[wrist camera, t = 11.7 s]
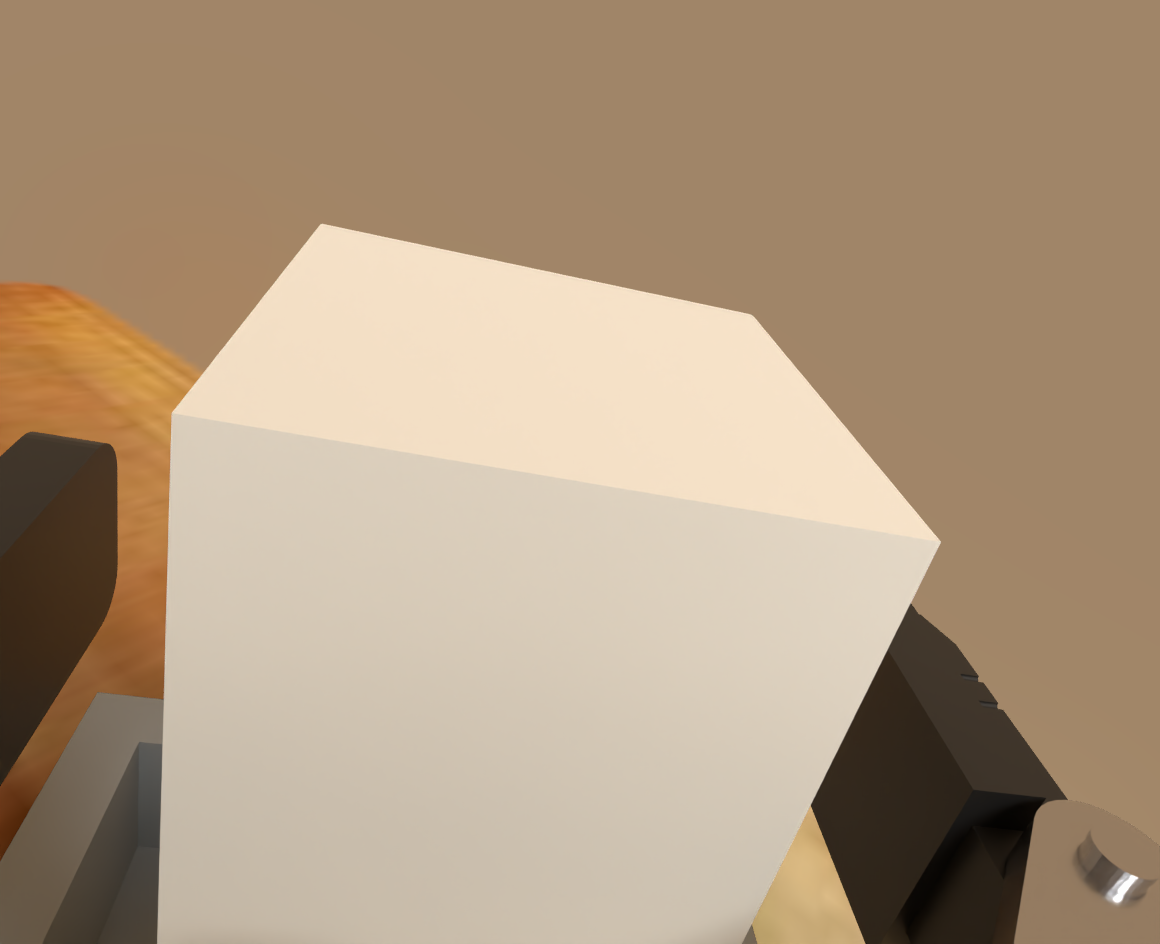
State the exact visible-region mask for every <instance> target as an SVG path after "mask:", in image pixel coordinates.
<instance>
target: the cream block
mask: <svg viewBox="0 0 1160 944" xmlns="http://www.w3.org/2000/svg"><path fill="white" fill-rule="evenodd" d="M940 543H941V542H940V540H939V539H938V538H937V537H936V536H935V534H934V533H933V532H932V531H931V530H930V528H929V527H928V526H927V525H926V524H925V522H924V521H923V520H922V519H921V518H920V516H919V515H918V514H917V513H916V512H915V510H914V509H913V508H912V507H911V506H910V505H909V503H908V502H907V501H906V500H905V499H904V497H903V496H902V495H901V494H900V492H899V491H898V490H897V489H896V487H895V486H894V485H893V484H892V483H891V481H890V480H889V479H888V478H887V477H886V475H885V474H884V473H883V472H882V471H881V469H880V468H879V467H878V466H877V465H876V463H875V462H874V461H873V460H872V459H871V458H870V456H869V455H868V454H867V453H866V451H865V450H864V449H863V448H862V447H861V445H860V444H859V443H858V442H857V441H856V439H855V438H854V437H853V436H852V435H851V433H850V432H849V431H848V430H847V428H846V427H845V426H844V425H843V424H842V423H841V421H840V420H839V419H838V418H837V416H836V415H835V414H834V413H833V412H832V410H831V409H830V408H829V407H828V406H827V404H826V403H825V402H824V401H823V400H822V398H821V397H820V396H819V395H818V394H817V392H816V391H815V390H814V389H813V388H812V386H811V385H810V384H809V383H808V382H807V380H806V379H805V378H804V377H803V376H802V374H801V373H800V372H799V371H798V370H797V368H796V367H795V366H794V365H793V363H792V362H791V361H790V360H789V359H788V357H787V356H786V355H785V354H784V353H783V351H782V350H781V349H780V348H779V347H778V345H777V344H776V343H775V342H774V341H773V340H772V338H771V337H770V336H769V335H768V333H767V332H766V331H765V330H764V329H763V327H762V326H761V325H760V324H759V323H758V321H757V320H756V319H755V318H754V317H753V315H750V314H746V313H741V312H736V311H732V310H727V309H722V308H717V307H713V306H708V305H703V304H698V303H694V302H689V301H684V300H680V299H675V298H670V297H666V296H661V295H656V294H651V293H647V292H642V291H637V290H632V289H628V288H623V287H618V286H614V285H609V284H604V283H599V282H595V281H590V280H585V279H580V278H576V277H570V276H565V275H561V274H557V273H552V272H547V271H542V270H538V269H533V268H528V267H523V266H519V265H514V264H509V263H505V262H500V261H495V260H490V259H485V258H481V257H476V256H471V255H467V254H462V253H457V252H453V251H448V250H443V249H438V248H434V247H429V246H423V245H420V244H415V243H410V242H405V241H401V240H396V239H391V238H386V237H382V236H376V235H372V234H368V233H362V232H358V231H353V230H349V229H344V228H339V227H334V226H329V225H325V224H321V225H320V226H319V227H318V229H317V230H316V231H315V232H314V233H313V235H312V236H311V237H310V238H309V240H308V241H307V242H306V244H305V245H304V246H303V247H302V249H301V250H300V251H299V253H298V254H297V255H296V256H295V257H294V259H293V260H292V261H291V263H290V264H289V265H288V266H287V268H286V269H285V270H284V272H283V273H282V274H281V275H280V277H279V278H278V279H277V280H276V282H275V283H274V284H273V285H272V287H271V288H270V289H269V291H268V292H267V293H266V294H265V296H264V297H263V298H262V299H261V301H260V302H259V303H258V304H257V306H256V307H255V308H254V310H253V311H252V312H251V314H250V315H249V316H248V317H247V318H246V320H245V321H244V322H243V323H242V325H241V326H240V327H239V329H238V330H237V331H236V332H235V334H234V335H233V336H232V337H231V339H230V340H229V341H228V342H227V344H226V345H225V346H224V348H223V349H222V350H221V351H220V353H219V354H218V355H217V356H216V358H215V359H214V360H213V362H212V363H211V364H210V365H209V367H208V368H207V369H206V370H205V372H204V373H203V374H202V375H201V377H200V378H199V379H198V381H197V382H196V383H195V384H194V386H193V387H192V388H191V389H190V391H189V392H188V393H187V394H186V396H185V397H184V398H183V400H182V401H181V402H180V403H179V405H178V406H177V407H176V408H175V410H174V411H173V412H172V423H171V459H170V495H169V531H168V567H167V604H166V640H165V676H164V712H163V748H162V784H161V821H160V857H159V893H158V929H157V944H742V943H743V941H744V939H745V937H746V935H747V933H748V931H749V929H750V926H751V924H752V922H753V920H754V918H755V916H756V914H757V912H758V910H759V908H760V906H761V904H762V902H763V900H764V898H765V896H766V894H767V892H768V890H769V888H770V886H771V884H772V882H773V880H774V878H775V876H776V874H777V872H778V870H779V868H780V866H781V864H782V862H783V860H784V858H785V856H786V854H787V852H788V850H789V848H790V846H791V844H792V842H793V840H794V838H795V836H796V834H797V832H798V830H799V828H800V825H801V823H802V821H803V819H804V817H805V815H806V813H807V811H808V809H809V807H810V805H811V803H812V801H813V799H814V797H815V795H816V793H817V791H818V789H819V787H820V785H821V783H822V781H823V779H824V777H825V775H826V773H827V771H828V769H829V767H830V765H831V763H832V761H833V759H834V757H835V755H836V753H837V751H838V749H839V747H840V745H841V743H842V741H843V739H844V737H845V735H846V733H847V731H848V729H849V727H850V724H851V722H852V720H853V718H854V716H855V714H856V712H857V710H858V708H859V706H860V704H861V702H862V700H863V698H864V696H865V694H866V692H867V690H868V688H869V686H870V684H871V682H872V680H873V678H874V676H875V674H876V672H877V670H878V668H879V666H880V664H881V662H882V660H883V658H884V656H885V654H886V652H887V650H888V648H889V646H890V644H891V642H892V640H893V638H894V636H895V634H896V632H897V630H898V628H899V626H900V623H901V621H902V619H903V617H904V615H905V613H906V611H907V609H908V607H909V605H910V603H911V601H912V599H913V597H914V595H915V593H916V591H917V589H918V587H919V585H920V583H921V581H922V579H923V577H924V575H925V573H926V571H927V568H928V567H929V565H930V563H931V561H932V559H933V557H934V555H935V553H936V551H937V549H938V547H939V545H940Z"/></svg>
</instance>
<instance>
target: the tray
mask: <svg viewBox="0 0 1160 944" xmlns="http://www.w3.org/2000/svg"><path fill="white" fill-rule="evenodd" d="M163 712H164V699H155V698H146V697H137V696H128V695H118V694H109V693H100V692H97V694H96V696H95V698H94V699H93V701H92V703H91V704H90V706H89V708H88V710H87V711H86V713H85V715H84V717H83V718H82V720H81V722H80V724H79V725H78V727H77V729H76V731H75V732H74V734H73V736H72V738H71V739H70V741H69V743H68V744H67V746H66V748H65V750H64V751H63V753H62V755H61V757H60V758H59V760H58V762H57V764H56V765H55V767H54V769H53V771H52V772H51V774H50V776H49V778H48V779H47V781H46V783H45V784H44V786H43V788H42V790H41V791H40V793H39V795H38V797H37V798H36V800H35V802H34V804H33V805H32V807H31V809H30V811H29V812H28V814H27V816H26V818H25V819H24V821H23V823H22V824H21V826H20V828H19V830H18V831H17V833H16V835H15V837H14V838H13V840H12V842H11V844H10V845H9V847H8V849H7V851H6V852H5V854H4V856H3V857H2V859H1V861H0V944H157V929H158V893H159V857H160V821H161V784H162V748H163ZM742 944H757V941H756V938H755V934H754V931H753V927H752V924H751V926H750V929H749V931H748V933H747V935H746V937H745V939H744V941H743V943H742Z"/></svg>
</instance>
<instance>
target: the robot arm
mask: <svg viewBox="0 0 1160 944" xmlns="http://www.w3.org/2000/svg"><path fill="white" fill-rule="evenodd" d="M117 565H118V552H117V459H116V454H115V451H114V449H113V447H112V446H111V445H110V444H107V443H101V442H95V441H88V440H82V439H76V438H69V437H63V436H57V435H51V434H44V433H38V432H29V433H26V434H25V435H24V436H22V437H21V438H20V439H19V440H18V441H17V442H16V443H15V444H13V445H12V446H11V447H10V448H9V449H8V450H7V451H6V452H5V453H4V454H3V455H1V456H0V786H1V784H2V782H3V781H4V779H5V778H6V776H7V774H8V773H9V771H10V770H11V768H12V766H13V765H14V763H15V762H16V760H17V759H18V757H19V755H20V754H21V752H22V751H23V749H24V747H25V746H26V744H27V743H28V741H29V740H30V738H31V736H32V735H33V733H34V732H35V730H36V728H37V727H38V725H39V724H40V722H41V721H42V719H43V717H44V716H45V714H46V713H47V711H48V709H49V708H50V706H51V705H52V703H53V701H54V700H55V698H56V697H57V695H58V694H59V692H60V690H61V689H62V687H63V686H64V684H65V682H66V681H67V679H68V678H69V676H70V675H71V673H72V671H73V670H74V668H75V667H76V665H77V663H78V662H79V660H80V659H81V657H82V656H83V654H84V652H85V651H86V649H87V648H88V646H89V644H90V643H91V641H92V640H93V638H94V636H95V635H96V633H97V632H98V630H99V629H100V627H101V625H102V623H103V622H104V619H105V617H106V615H107V613H108V610H109V607H110V604H111V601H112V597H113V594H114V589H115V584H116V578H117ZM997 704H998V702H997V701H996V700H995V698H994V697H993V695H992V694H991V693H990V691H989V690H988V688H987V687H986V686H985V684H984V683H981V682H978V675H977V673H976V672H975V671H974V669H973V668H972V666H971V665H970V664H969V662H968V661H967V659H966V658H965V657H964V655H963V654H962V652H961V651H960V650H959V648H958V647H957V646H956V644H955V643H953V642H952V641H951V640H950V639H949V638H948V637H946V636H945V635H944V634H943V633H942V632H940V631H939V630H938V629H937V628H936V627H934V626H933V625H932V624H931V623H929V622H928V621H927V620H926V619H925V618H924V617H923V616H921V615H919V614H918V613H917V611H916V610H915V608H914V607H913V606H912V604H911V603H910V605H909V607H908V609H907V611H906V613H905V615H904V617H903V619H902V621H901V623H900V626H899V628H898V630H897V632H896V634H895V636H894V638H893V640H892V642H891V644H890V646H889V648H888V650H887V652H886V654H885V656H884V658H883V660H882V662H881V664H880V666H879V668H878V670H877V672H876V674H875V676H874V678H873V680H872V682H871V684H870V686H869V688H868V690H867V692H866V694H865V696H864V698H863V700H862V702H861V704H860V706H859V708H858V710H857V712H856V714H855V716H854V718H853V720H852V722H851V724H850V727H849V729H848V731H847V733H846V735H845V737H844V739H843V741H842V743H841V745H840V747H839V749H838V751H837V753H836V755H835V757H834V759H833V761H832V763H831V765H830V767H829V769H828V771H827V773H826V775H825V777H824V779H823V781H822V783H821V785H820V787H819V789H818V791H817V793H816V795H815V797H814V799H813V801H812V803H811V807H812V810H813V812H814V815H815V817H816V820H817V822H818V825H819V827H820V830H821V832H822V835H823V837H824V840H825V843H826V845H827V848H828V850H829V853H830V855H831V858H832V860H833V863H834V865H835V868H836V870H837V873H838V875H839V878H840V880H841V883H842V885H843V888H844V890H845V893H846V896H847V898H848V901H849V903H850V906H851V908H852V911H853V913H854V916H855V918H856V921H857V923H858V926H859V928H860V931H861V933H862V936H863V938H864V941H865V943H866V944H1160V846H1159V845H1158V844H1157V843H1155V842H1154V841H1153V840H1152V839H1150V838H1149V837H1148V836H1147V835H1145V834H1144V833H1143V832H1141V831H1140V830H1138V829H1137V828H1135V827H1134V826H1132V825H1131V824H1129V823H1128V822H1126V821H1124V820H1122V819H1121V818H1119V817H1117V816H1115V815H1113V814H1111V813H1109V812H1107V811H1105V810H1102V809H1100V808H1097V807H1095V806H1092V805H1089V804H1085V803H1082V802H1078V801H1071V800H1068V799H1067V798H1066V797H1065V795H1064V794H1063V792H1062V791H1061V790H1060V788H1059V787H1058V786H1057V784H1056V783H1055V781H1054V780H1053V779H1052V777H1051V776H1050V774H1049V773H1048V772H1047V770H1046V769H1045V768H1044V766H1043V765H1042V763H1041V762H1040V761H1039V759H1038V758H1037V756H1036V755H1035V754H1034V752H1033V751H1032V749H1031V748H1030V747H1029V745H1028V744H1027V742H1026V741H1025V740H1024V738H1023V737H1022V736H1021V734H1020V733H1019V732H1018V730H1017V729H1016V727H1015V726H1014V725H1013V723H1012V722H1011V720H1010V719H1009V718H1008V716H1007V715H1006V713H1005V712H1004V711H1003V710H1000V709H998V708H997Z"/></svg>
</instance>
